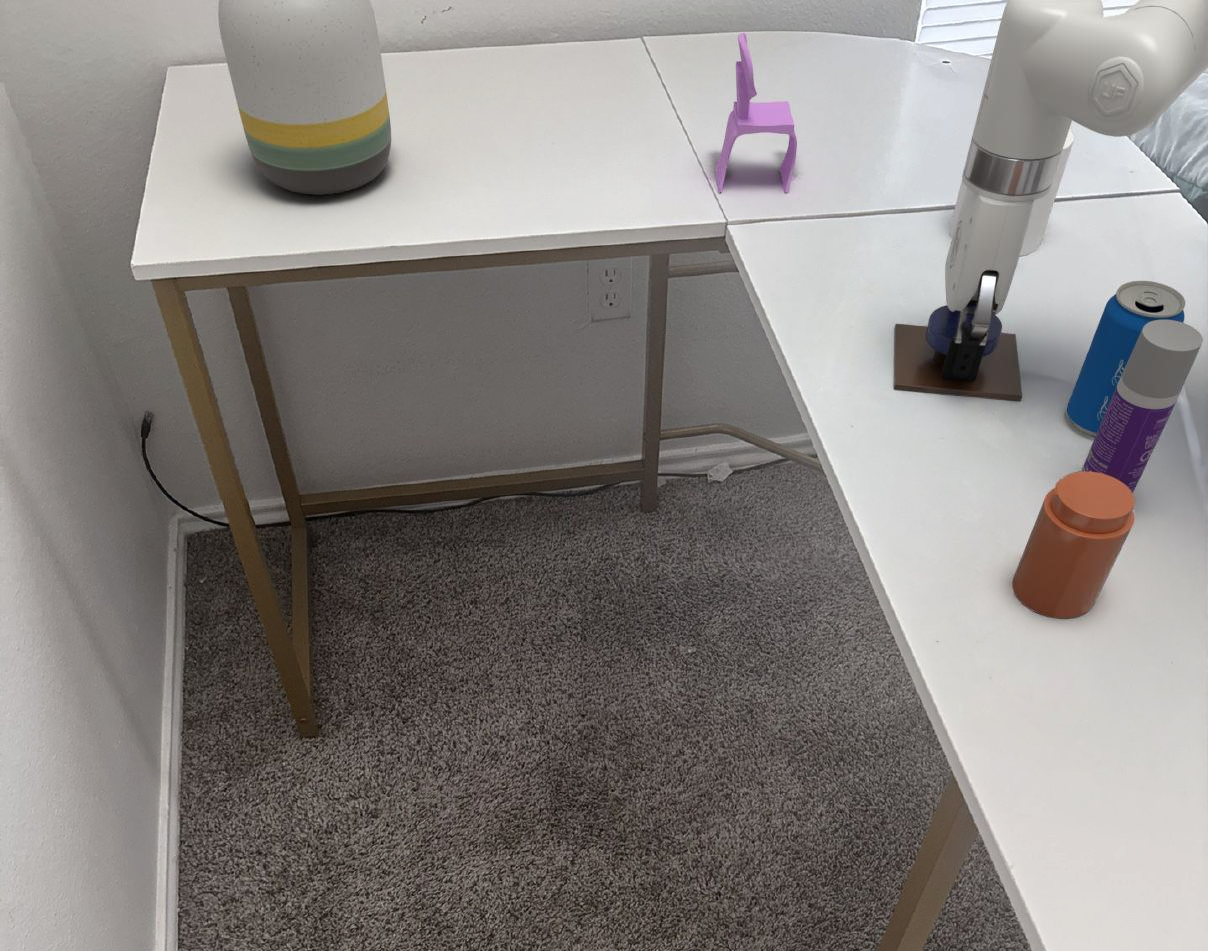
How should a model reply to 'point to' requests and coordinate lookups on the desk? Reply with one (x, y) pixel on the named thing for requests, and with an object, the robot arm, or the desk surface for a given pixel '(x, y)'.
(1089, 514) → the jar
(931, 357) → the coaster
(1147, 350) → the container
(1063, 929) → the desk surface
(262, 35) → the vase
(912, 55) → the desk surface
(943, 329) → the jar lid
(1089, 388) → the beverage can
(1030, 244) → the mug
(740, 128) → the toy chair
